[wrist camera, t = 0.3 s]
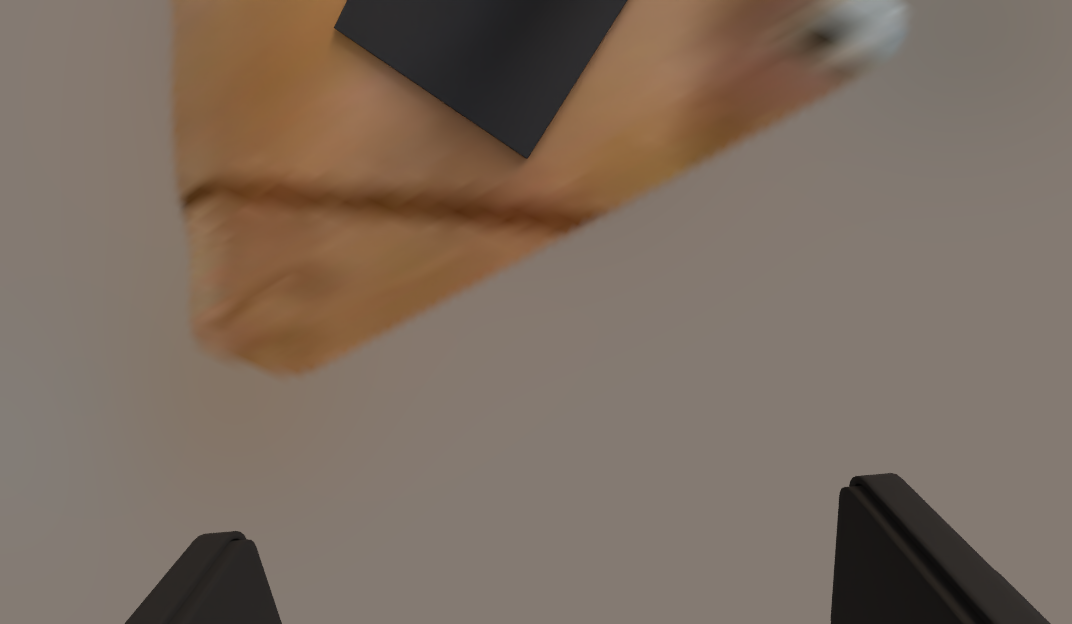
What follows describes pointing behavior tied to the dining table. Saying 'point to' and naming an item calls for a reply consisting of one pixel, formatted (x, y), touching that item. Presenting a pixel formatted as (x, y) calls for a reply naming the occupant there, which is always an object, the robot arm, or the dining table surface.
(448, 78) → the mat
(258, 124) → the dining table surface
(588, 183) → the dining table surface
